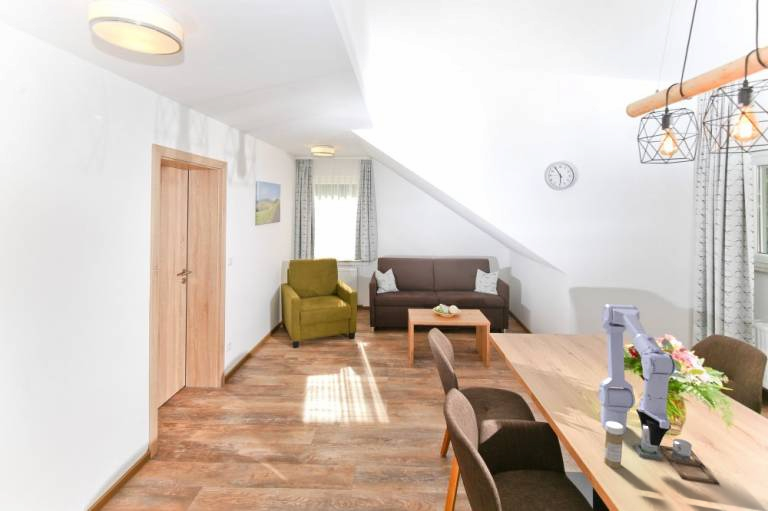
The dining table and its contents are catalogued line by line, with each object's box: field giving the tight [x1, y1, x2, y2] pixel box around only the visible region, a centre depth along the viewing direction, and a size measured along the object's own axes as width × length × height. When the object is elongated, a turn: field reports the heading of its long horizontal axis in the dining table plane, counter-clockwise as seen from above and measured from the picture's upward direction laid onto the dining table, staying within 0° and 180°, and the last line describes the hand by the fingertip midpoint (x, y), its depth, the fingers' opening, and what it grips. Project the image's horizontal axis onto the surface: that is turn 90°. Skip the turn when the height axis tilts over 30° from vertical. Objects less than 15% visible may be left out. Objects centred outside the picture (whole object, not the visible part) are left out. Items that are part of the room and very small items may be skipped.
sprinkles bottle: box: [603, 421, 624, 469], centre depth 120 cm, size 5×5×13 cm
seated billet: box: [671, 438, 692, 462], centre depth 125 cm, size 4×4×6 cm
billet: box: [640, 423, 661, 452], centre depth 119 cm, size 4×4×6 cm
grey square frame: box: [632, 442, 663, 461], centre depth 127 cm, size 6×6×2 cm
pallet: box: [660, 444, 720, 486], centre depth 122 cm, size 17×9×2 cm, turn 165°
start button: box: [641, 446, 654, 454], centre depth 127 cm, size 3×3×3 cm
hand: (650, 440), depth 119 cm, fingers closed on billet, 4 cm apart
